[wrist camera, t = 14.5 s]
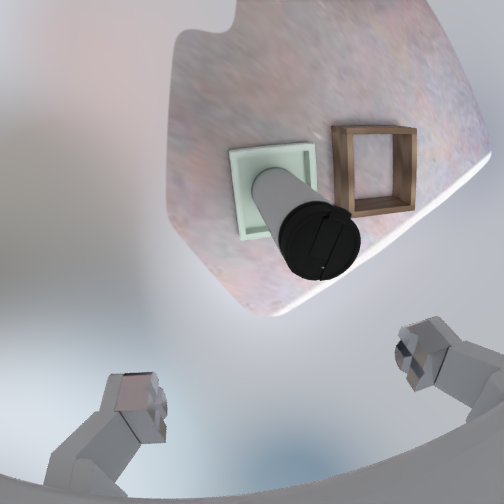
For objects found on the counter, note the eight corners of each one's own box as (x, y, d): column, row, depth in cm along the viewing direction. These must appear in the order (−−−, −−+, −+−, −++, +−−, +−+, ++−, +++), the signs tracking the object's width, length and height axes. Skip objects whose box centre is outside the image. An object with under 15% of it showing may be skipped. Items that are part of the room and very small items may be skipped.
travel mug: (304, 171, 41) (377, 220, 23) (289, 217, 43) (345, 294, 25) (259, 158, 40) (304, 197, 22) (245, 206, 42) (275, 281, 24)
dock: (228, 150, 39) (229, 152, 37) (308, 141, 40) (314, 143, 38) (238, 234, 44) (240, 240, 42) (312, 223, 45) (318, 229, 43)
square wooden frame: (331, 126, 39) (346, 128, 35) (397, 125, 40) (416, 128, 36) (334, 207, 44) (348, 218, 40) (396, 200, 45) (414, 210, 41)
